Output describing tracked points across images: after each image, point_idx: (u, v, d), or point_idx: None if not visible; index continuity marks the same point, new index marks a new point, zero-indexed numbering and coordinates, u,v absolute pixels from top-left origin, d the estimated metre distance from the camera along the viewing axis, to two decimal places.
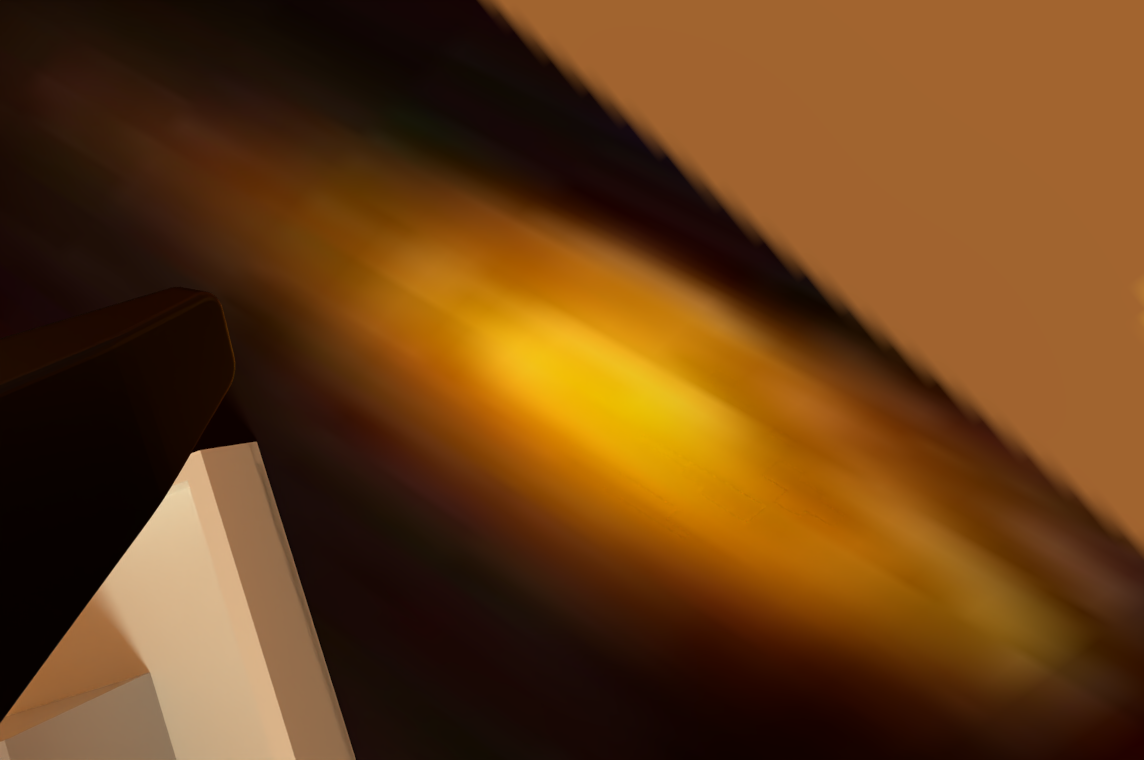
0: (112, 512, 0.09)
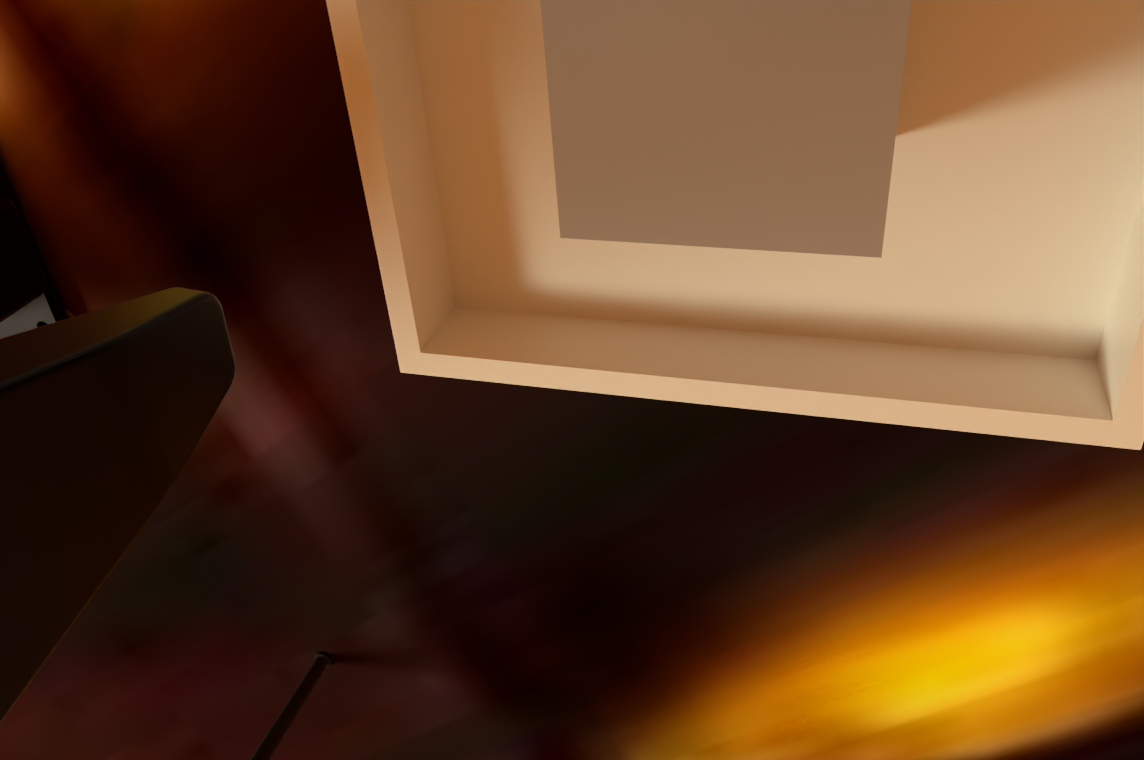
0: (112, 512, 0.09)
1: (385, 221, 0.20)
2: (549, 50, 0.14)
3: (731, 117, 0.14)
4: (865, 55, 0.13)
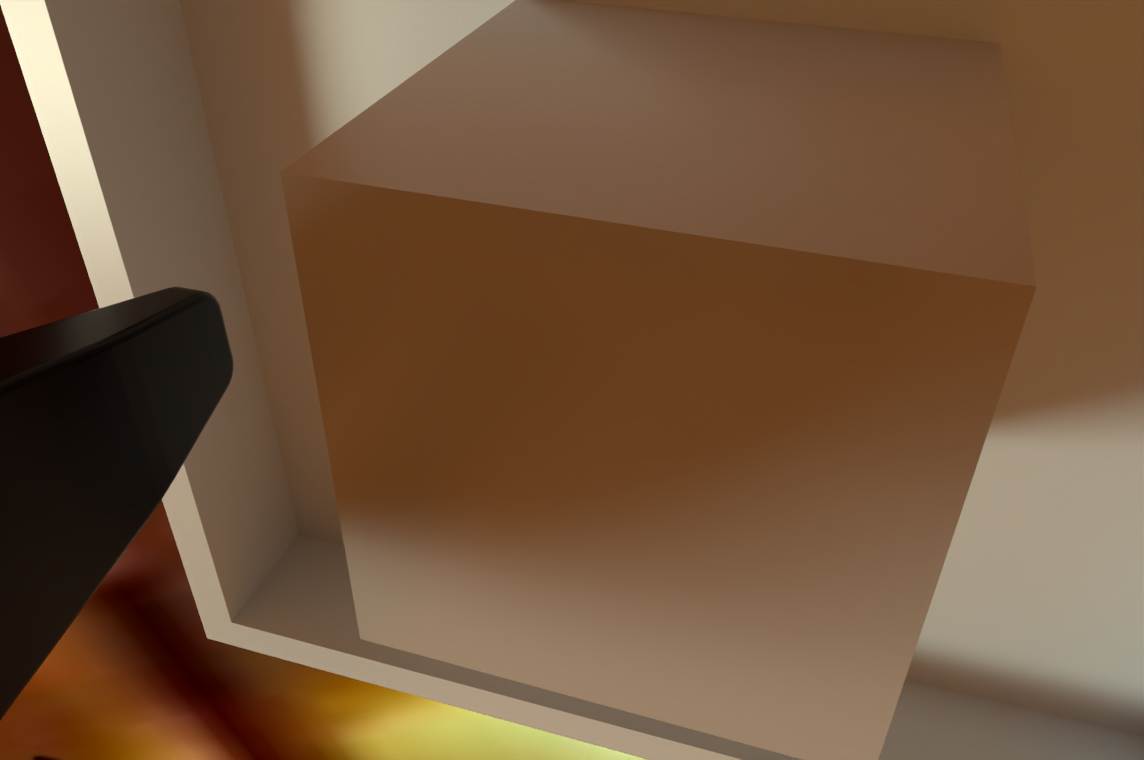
0: (110, 512, 0.09)
1: None
2: (327, 400, 0.08)
3: (634, 553, 0.08)
4: (878, 520, 0.07)
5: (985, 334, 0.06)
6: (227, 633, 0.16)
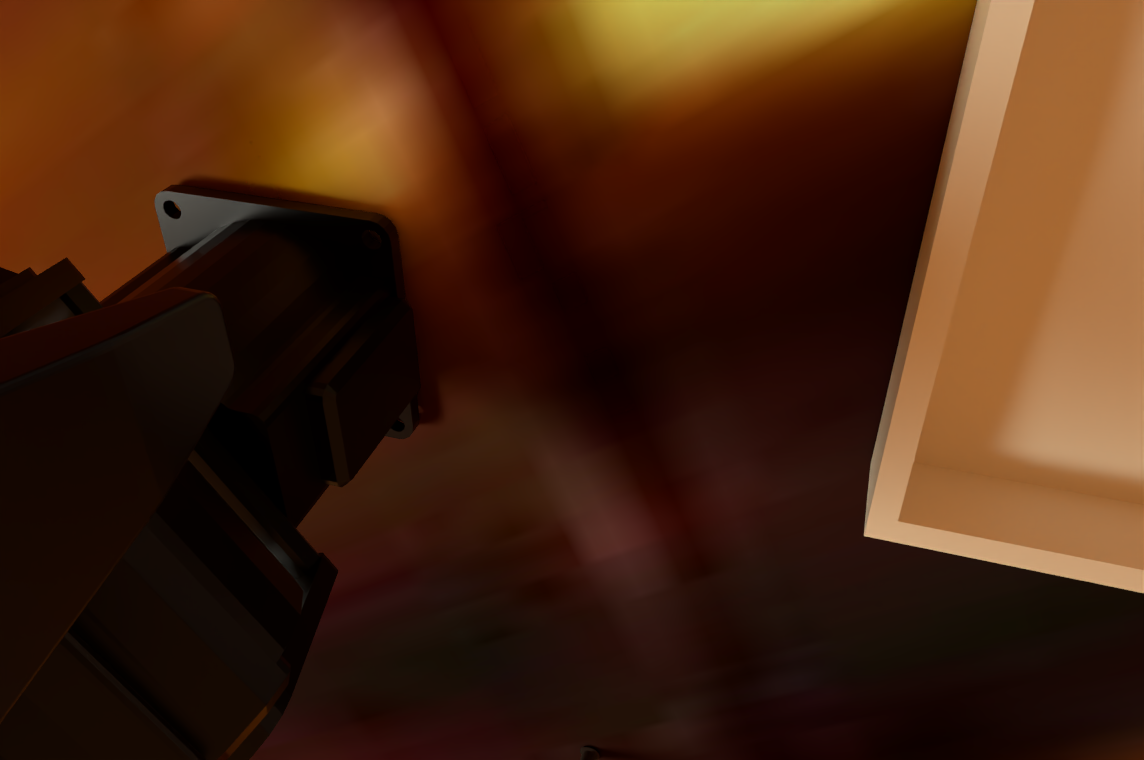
0: (112, 512, 0.09)
1: (916, 398, 0.19)
2: None
3: None
4: None
5: None
6: None
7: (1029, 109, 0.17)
